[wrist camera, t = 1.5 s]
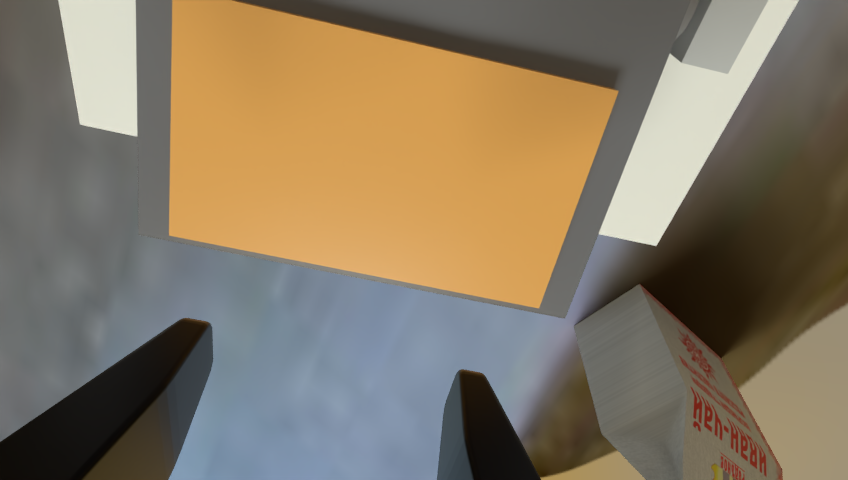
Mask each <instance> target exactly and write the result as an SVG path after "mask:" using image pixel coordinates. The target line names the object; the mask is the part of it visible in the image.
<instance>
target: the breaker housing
mask: <svg viewBox="0 0 848 480" xmlns="http://www.w3.org/2000/svg"><path fill="white" fill-rule="evenodd" d="M58 1H59V7H60V12H61V18H62V24H63V30H64V35H65V41H66V47H67V52H68V58H69V64H70V69H71V75H72V81H73V86H74V92H75V98H76V104H77V109H78V115H79V121H80V125H85V126H89V127H94V128H99V129H104V130H108V131H113V132H118V133H123V134H127V135H132V136H137V66H136V0H58ZM798 1H799V0H699V2H698V5H697V8H696V10H695V12H694V15H693V17H692V19H691V20H690V22H689V24H688V26H687V27H686V29H685V30H684V31H683V33H682V34H681V35H680V36H679V37H678V38H677V39H676V40H675V42H674V44H673V47H672V49H671V52H670V54H669V57H668V59H667V62H666V64H665V67H664V69H663V72H662V74H661V77H660V79H659V82H658V84H657V87H656V90H655V92H654V95H653V97H652V100H651V102H650V105H649V107H648V110H647V112H646V115H645V117H644V120H643V122H642V125H641V127H640V130H639V133H638V135H637V138H636V140H635V143H634V145H633V148H632V150H631V153H630V155H629V158H628V160H627V163H626V165H625V168H624V170H623V173H622V175H621V178H620V181H619V183H618V186H617V188H616V191H615V193H614V196H613V198H612V201H611V203H610V206H609V208H608V211H607V213H606V216H605V218H604V221H603V224H602V226H601V229H600V231H599V234H602V235H606V236H611V237H616V238H621V239H625V240H630V241H635V242H639V243H644V244H649V245H654V246H657V244H658V242H659V240H660V239H661V237H662V235H663V234H664V232H665V230H666V228H667V227H668V225H669V223H670V221H671V220H672V218H673V216H674V215H675V213H676V211H677V209H678V208H679V206H680V204H681V203H682V201H683V199H684V197H685V196H686V194H687V192H688V190H689V189H690V187H691V185H692V184H693V182H694V180H695V178H696V177H697V175H698V173H699V171H700V170H701V168H702V166H703V165H704V163H705V161H706V159H707V158H708V156H709V154H710V153H711V151H712V149H713V147H714V146H715V144H716V142H717V140H718V139H719V137H720V135H721V134H722V132H723V130H724V128H725V127H726V125H727V123H728V121H729V120H730V118H731V116H732V115H733V113H734V111H735V109H736V108H737V106H738V104H739V103H740V101H741V99H742V97H743V96H744V94H745V92H746V90H747V89H748V87H749V85H750V84H751V82H752V80H753V78H754V77H755V75H756V73H757V71H758V70H759V68H760V66H761V65H762V63H763V61H764V59H765V58H766V56H767V54H768V52H769V51H770V49H771V47H772V46H773V44H774V42H775V40H776V39H777V37H778V35H779V34H780V32H781V30H782V28H783V27H784V25H785V23H786V21H787V20H788V18H789V16H790V15H791V13H792V11H793V9H794V8H795V6H796V4H797V2H798Z"/></svg>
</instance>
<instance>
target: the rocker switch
mask: <svg viewBox="0 0 848 480" xmlns="http://www.w3.org/2000/svg"><path fill="white" fill-rule="evenodd" d="M698 2H699V0H136V66H137V144H138V223H139V235H142V236H148V237H153V238H158V239H163V240H168V241H173V242H178V243H183V244H188V245H193V246H198V247H204V248H209V249H214V250H219V251H224V252H229V253H234V254H239V255H244V256H249V257H254V258H260V259H265V260H270V261H275V262H280V263H285V264H290V265H295V266H300V267H305V268H310V269H316V270H321V271H326V272H331V273H336V274H341V275H346V276H351V277H356V278H361V279H366V280H372V281H377V282H382V283H387V284H392V285H397V286H402V287H407V288H412V289H417V290H422V291H428V292H433V293H438V294H443V295H448V296H453V297H458V298H463V299H468V300H473V301H478V302H483V303H489V304H494V305H499V306H504V307H509V308H514V309H519V310H524V311H529V312H534V313H539V314H545V315H550V316H555V317H560V318H565V317H566V315H567V312H568V309H569V307H570V304H571V302H572V299H573V297H574V294H575V292H576V289H577V287H578V284H579V282H580V279H581V277H582V274H583V272H584V269H585V266H586V264H587V261H588V259H589V256H590V254H591V251H592V249H593V246H594V244H595V241H596V239H597V236H598V234H599V231H600V229H601V226H602V224H603V221H604V218H605V216H606V213H607V211H608V208H609V206H610V203H611V201H612V198H613V196H614V193H615V191H616V188H617V186H618V183H619V181H620V178H621V175H622V173H623V170H624V168H625V165H626V163H627V160H628V158H629V155H630V153H631V150H632V148H633V145H634V143H635V140H636V138H637V135H638V133H639V130H640V127H641V125H642V122H643V120H644V117H645V115H646V112H647V110H648V107H649V105H650V102H651V100H652V97H653V95H654V92H655V90H656V87H657V84H658V82H659V79H660V77H661V74H662V72H663V69H664V67H665V64H666V62H667V59H668V57H669V54H670V52H671V49H672V47H673V44H674V42H675V40H676V39H677V38H678V37H679V36H680V35H681V34H682V33H683V31H684V30H685V29H686V27H687V26H688V24H689V22H690V20H691V19H692V17H693V15H694V12H695V10H696V8H697V5H698Z"/></svg>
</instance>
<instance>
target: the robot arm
mask: <svg viewBox="0 0 848 480" xmlns="http://www.w3.org/2000/svg"><path fill="white" fill-rule="evenodd" d="M212 363H213V339H212V326H211V324H210V323H209V322H206V321H201V320H196V319H190V318H183V319H181V320H179V321H177V322H176V323H174V324H173V325H171V326H170V327H168V328H167V329H165V330H164V331H162V332H161V333H160V334H158V335H157V336H155V337H154V338H152V339H151V340H149V341H148V342H146V343H145V344H143V345H142V346H140V347H139V348H138V349H136V350H135V351H133V352H132V353H130V354H129V355H127V356H126V357H124V358H123V359H121V360H120V361H118V362H117V363H116V364H114V365H113V366H111V367H110V368H108V369H107V370H105V371H104V372H102V373H101V374H99V375H98V376H96V377H95V378H94V379H92V380H91V381H89V382H88V383H86V384H85V385H83V386H82V387H80V388H79V389H77V390H76V391H74V392H73V393H72V394H70V395H69V396H67V397H66V398H64V399H63V400H61V401H60V402H58V403H57V404H55V405H54V406H52V407H51V408H50V409H48V410H47V411H45V412H44V413H42V414H41V415H39V416H38V417H36V418H35V419H33V420H32V421H30V422H29V423H27V424H26V425H25V426H23V427H22V428H20V429H19V430H17V431H16V432H14V433H13V434H11V435H10V436H8V437H7V438H5V439H4V440H3V441H1V442H0V480H168V479H169V477H170V475H171V473H172V471H173V469H174V466H175V464H176V462H177V459H178V456H179V454H180V451H181V449H182V446H183V443H184V441H185V438H186V435H187V433H188V430H189V427H190V425H191V422H192V419H193V417H194V414H195V411H196V409H197V406H198V403H199V401H200V398H201V395H202V393H203V390H204V387H205V385H206V382H207V379H208V377H209V374H210V371H211V367H212ZM437 480H541V479H540V477H539V475H538V473H537V471H536V470H535V468H534V466H533V464H532V462H531V460H530V458H529V456H528V455H527V453H526V451H525V449H524V447H523V445H522V443H521V442H520V440H519V438H518V436H517V434H516V432H515V430H514V428H513V427H512V425H511V423H510V421H509V419H508V417H507V415H506V414H505V412H504V410H503V408H502V406H501V404H500V402H499V400H498V399H497V397H496V395H495V393H494V391H493V389H492V387H491V386H490V384H489V382H488V380H487V378H486V377H485V375H484V374H482V373H480V372H474V371H469V370H464V369H462V370H459V371H458V372H457V373H456V376H455V378H454V381H453V384H452V386H451V389H450V392H449V395H448V397H447V400H446V403H445V408H444V414H443V424H442V434H441V444H440V454H439V465H438V475H437Z"/></svg>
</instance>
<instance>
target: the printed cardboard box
mask: <svg viewBox="0 0 848 480" xmlns="http://www.w3.org/2000/svg"><path fill="white" fill-rule="evenodd" d="M574 329H575V333H576V337H577V341H578V345H579V349H580V352H581V356H582V360H583V364H584V368H585V372H586V375H587V379H588V383H589V387H590V391H591V395H592V399H593V402H594V406H595V410H596V414H597V418H598V422H599V425H600V429H601V433H602V434H603V436H604V437H605V438H606V439H607V440H608V441H609V442H610V443H611V444H612V445H613V446H614V447H615V448H616V449H617V450H618V451H619V452H620V453H621V454H622V455H623V456H624V457H625V458H626V459H627V460H628V462H629V463H630V464H631V465H632V466H633V467H634V468H635V469H636V470H637V471H638V472H639V473H640V474H641V475H642V476H643V477H644V478H645V479H646V480H783V479H782V468H781V467H780V465H779V463H778V461H777V459H776V458H775V456H774V454H773V452H772V450H771V448H770V447H769V445H768V443H767V441H766V439H765V437H764V436H763V434H762V432H761V430H760V428H759V426H758V425H757V423H756V421H755V419H754V418H753V416H752V414H751V412H750V410H749V408H748V407H747V405H746V403H745V401H744V399H743V397H742V395H741V394H740V392H739V390H738V388H737V386H736V385H735V383H734V381H733V379H732V377H731V375H730V374H729V372H728V370H727V368H726V366H725V364H724V363H723V361H722V359H721V358H720V357H719V356H718V355H717V354H716V353H715V352H714V351H713V350H711V349H710V348H709V347H708V346H707V345H706V344H705V343H704V342H703V341H702V340H701V339H699V338H698V337H697V336H696V335H695V334H694V333H693V332H692V331H691V330H690V329H688V328H687V327H686V326H685V325H684V324H683V323H682V322H681V321H680V320H679V319H678V318H676V317H675V316H674V315H673V314H672V313H671V312H670V311H669V310H668V309H667V308H666V307H664V306H663V305H662V304H661V303H660V302H659V301H658V300H657V299H656V298H655V297H653V296H652V295H651V294H650V293H649V292H648V291H647V290H646V289H645V288H644V287H643V286H641V285H640V284H638V285H637V286H635V287H634V288H632V289H631V290H629V291H628V292H626V293H624V294H623V295H621V296H620V297H618V298H617V299H615V300H614V301H612V302H610V303H609V304H607V305H606V306H604V307H603V308H601V309H600V310H598V311H597V312H595V313H593V314H592V315H590V316H589V317H587V318H586V319H584V320H583V321H581V322H579V323H578V324H576V325H575V326H574Z"/></svg>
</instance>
